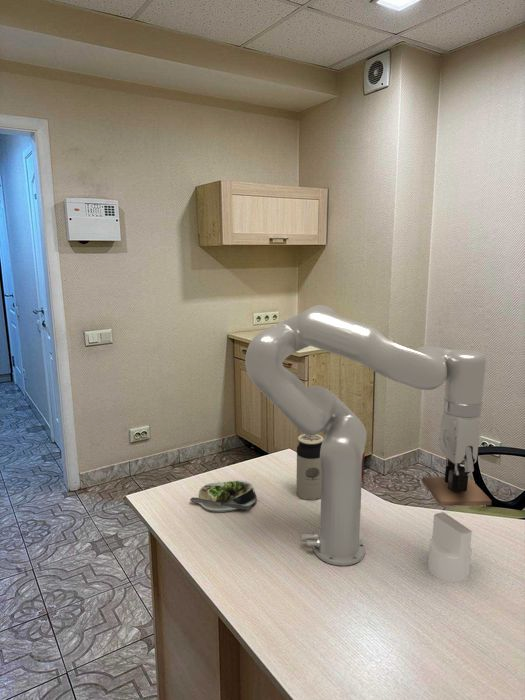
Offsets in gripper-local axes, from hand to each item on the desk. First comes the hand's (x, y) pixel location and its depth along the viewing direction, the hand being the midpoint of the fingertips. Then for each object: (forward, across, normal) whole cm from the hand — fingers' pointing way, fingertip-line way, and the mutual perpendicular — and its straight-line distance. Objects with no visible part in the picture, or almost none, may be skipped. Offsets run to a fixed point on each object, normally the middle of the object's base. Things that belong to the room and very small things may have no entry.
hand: (455, 485), depth 110 cm
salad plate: (+22, -34, -52) cm, 66 cm away
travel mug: (+21, -36, -28) cm, 50 cm away
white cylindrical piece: (+21, 0, 0) cm, 21 cm away
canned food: (+21, -44, -14) cm, 51 cm away
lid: (+2, 0, 0) cm, 2 cm away
